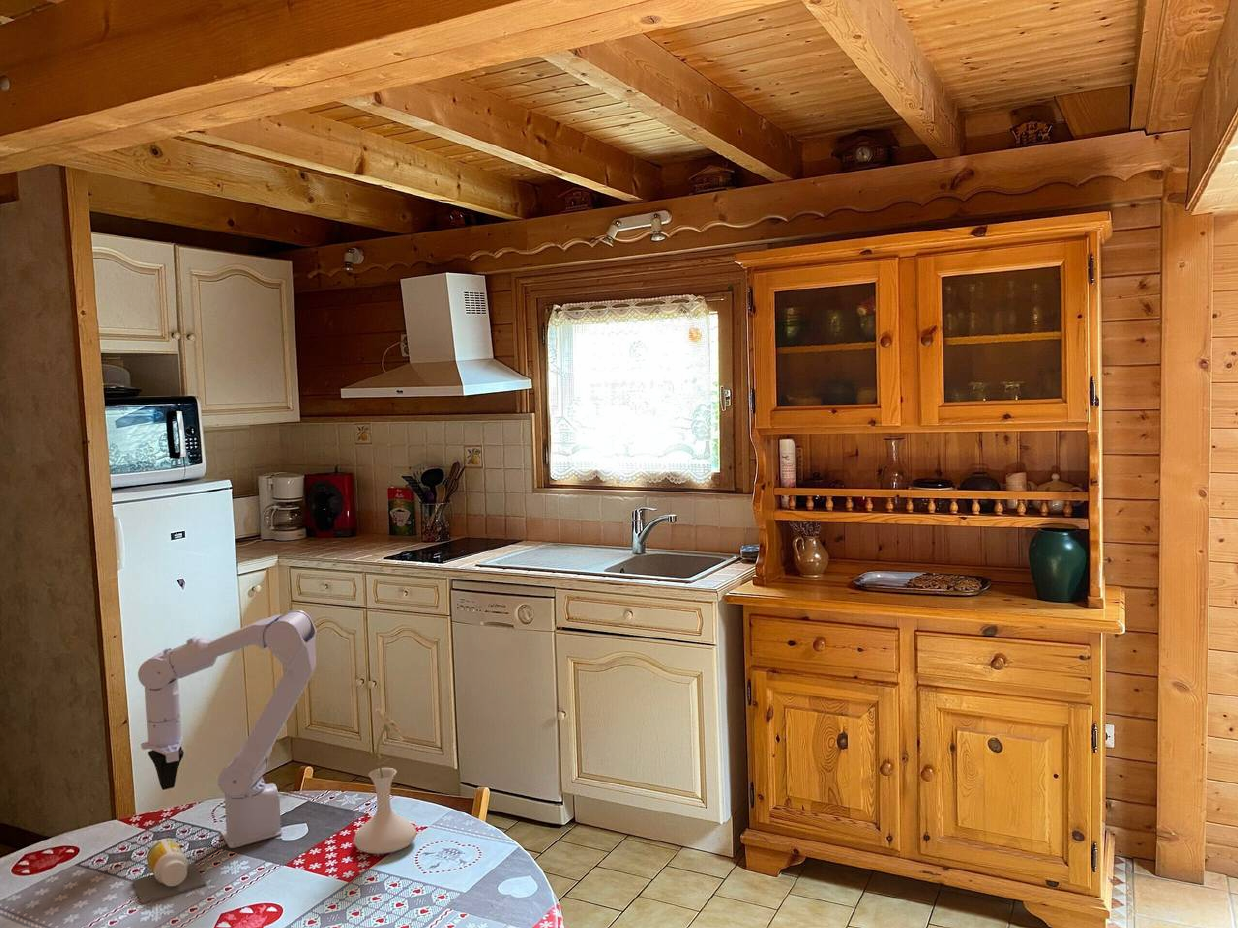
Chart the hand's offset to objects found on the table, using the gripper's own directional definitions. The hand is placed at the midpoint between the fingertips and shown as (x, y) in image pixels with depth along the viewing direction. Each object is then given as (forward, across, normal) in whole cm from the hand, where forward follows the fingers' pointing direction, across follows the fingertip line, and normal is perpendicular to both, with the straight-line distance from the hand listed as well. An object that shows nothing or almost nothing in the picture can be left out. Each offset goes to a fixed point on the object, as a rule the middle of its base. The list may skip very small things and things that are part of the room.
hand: (167, 787), depth 182 cm
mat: (+10, +18, -4) cm, 21 cm away
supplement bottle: (+7, +12, -3) cm, 14 cm away
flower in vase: (+10, +27, +32) cm, 43 cm away
